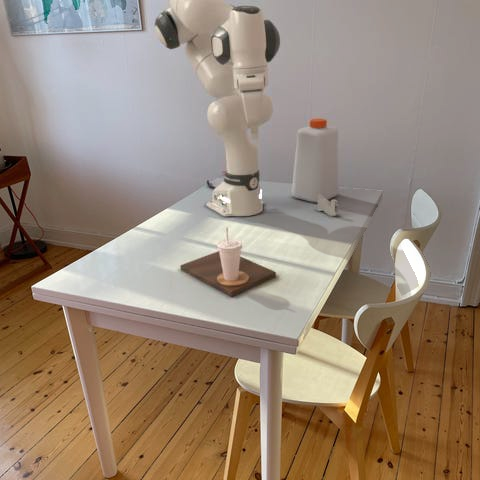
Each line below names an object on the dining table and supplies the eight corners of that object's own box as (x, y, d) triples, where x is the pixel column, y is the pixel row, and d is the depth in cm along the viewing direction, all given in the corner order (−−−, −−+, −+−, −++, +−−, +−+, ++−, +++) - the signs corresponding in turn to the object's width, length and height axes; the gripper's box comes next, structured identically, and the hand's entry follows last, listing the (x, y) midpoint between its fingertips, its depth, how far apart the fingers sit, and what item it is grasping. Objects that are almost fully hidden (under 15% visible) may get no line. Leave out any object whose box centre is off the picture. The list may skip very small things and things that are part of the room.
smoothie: (218, 273, 134) (215, 223, 126) (242, 271, 134) (240, 222, 127) (219, 284, 128) (216, 232, 121) (244, 282, 128) (242, 231, 121)
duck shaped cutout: (320, 210, 180) (339, 217, 173) (317, 210, 179) (336, 218, 172) (320, 194, 177) (340, 201, 170) (317, 195, 176) (337, 201, 169)
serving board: (180, 270, 140) (180, 263, 139) (224, 253, 149) (223, 247, 148) (231, 296, 126) (230, 290, 125) (275, 277, 135) (275, 270, 134)
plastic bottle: (341, 195, 193) (347, 118, 179) (319, 205, 184) (323, 125, 170) (310, 188, 202) (313, 114, 188) (287, 197, 193) (288, 121, 178)
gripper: (238, 77, 137) (242, 130, 144) (238, 84, 119) (242, 144, 126) (261, 75, 137) (264, 128, 144) (264, 82, 119) (267, 142, 126)
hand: (254, 135), depth 135 cm, fingers open, 8 cm apart
